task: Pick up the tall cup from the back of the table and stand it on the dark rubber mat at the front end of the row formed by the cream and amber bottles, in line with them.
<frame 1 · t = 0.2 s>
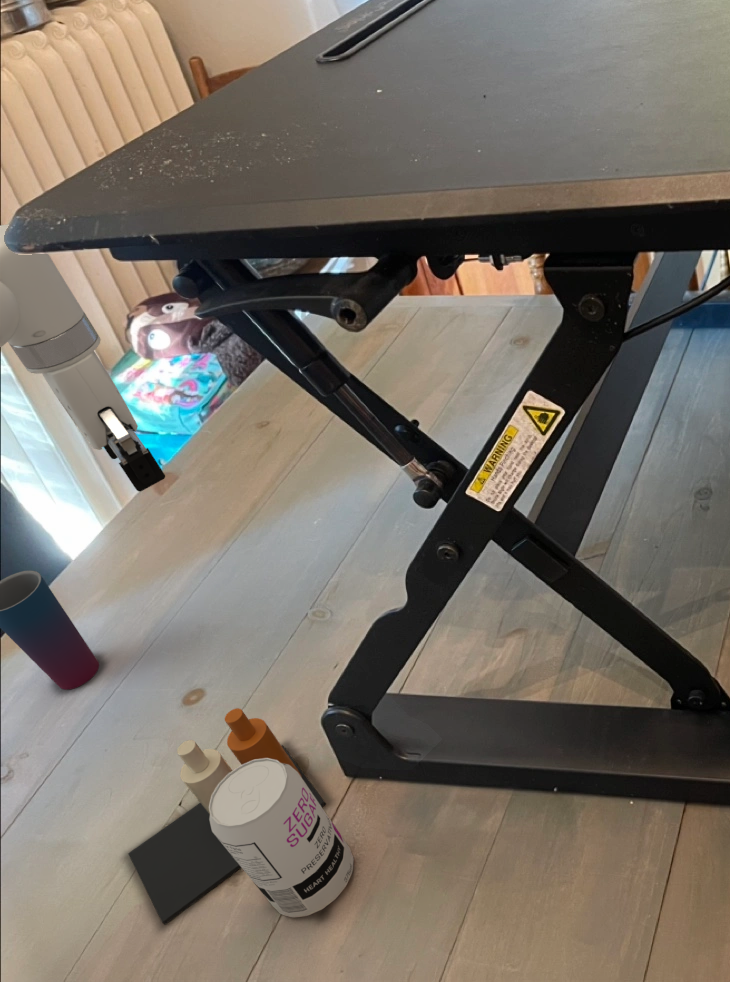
hand: (138, 467, 121), 26 cm above the table, tool pointing down, fingers open, 9 cm apart
amber bottle: (283, 786, 113), resting on mat
supplement can: (315, 881, 104), on the table
cream bottle: (240, 817, 111), resting on mat
mat: (228, 830, 111), on the table
cup: (79, 675, 134), on the table
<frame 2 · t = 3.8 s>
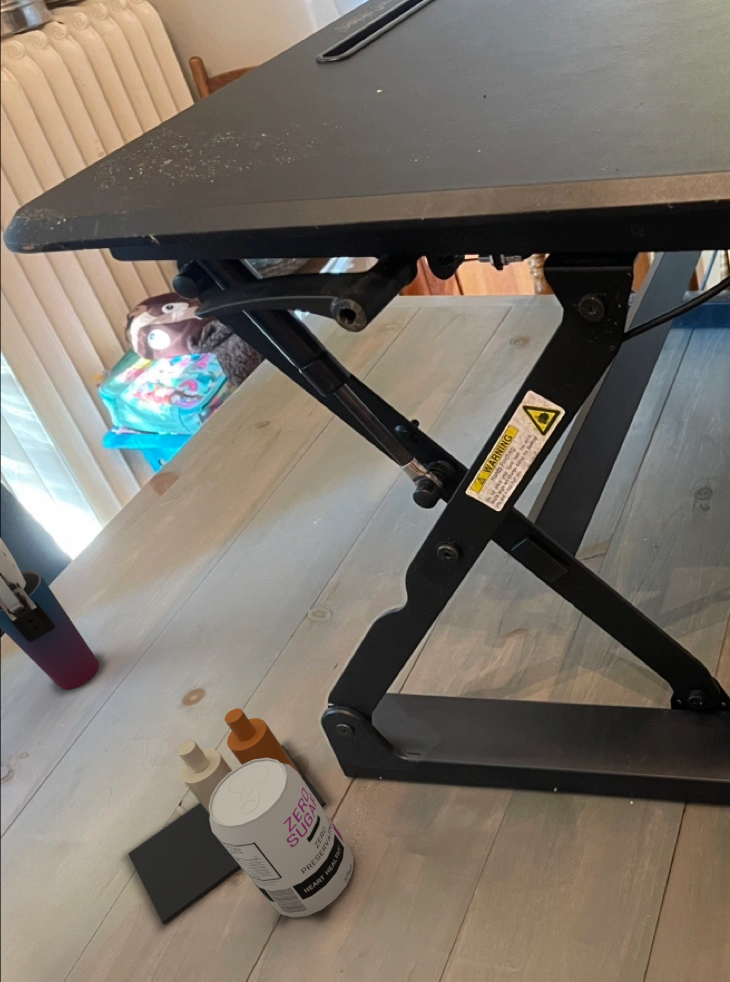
hand: (34, 619, 128), 10 cm above the table, tool pointing down, fingers closed on cup, 6 cm apart
cup: (79, 674, 134), on the table, touching gripper
everything else where it was.
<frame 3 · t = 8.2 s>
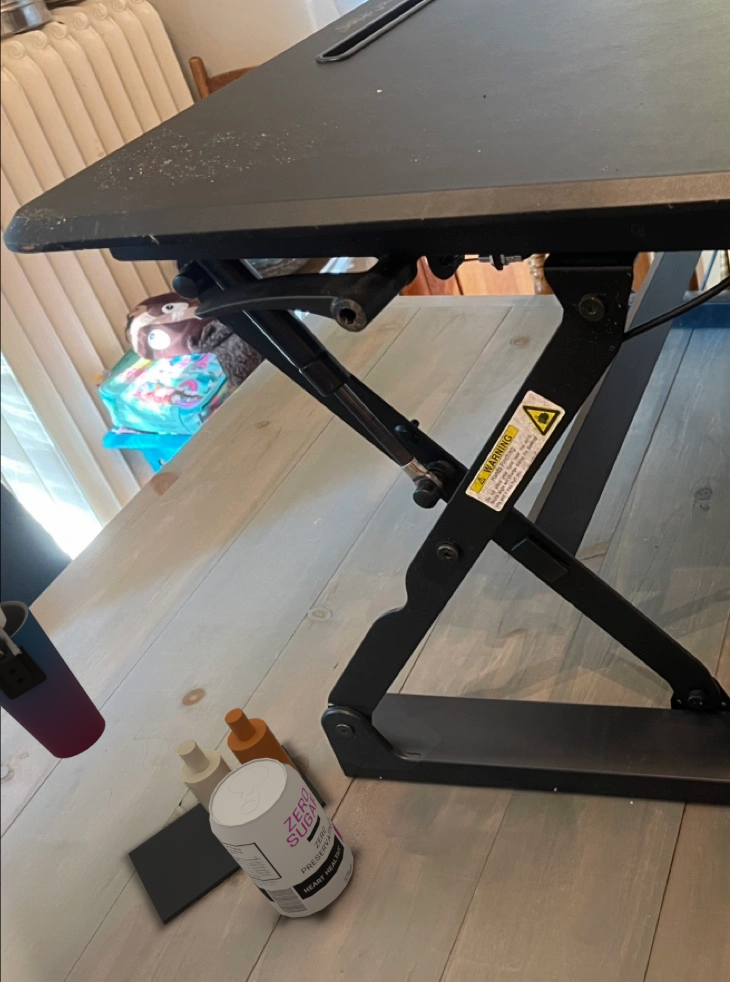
hand: (18, 667, 95), 27 cm above the table, tool pointing down, fingers closed on cup, 6 cm apart
cup: (79, 737, 101), point 17 cm above the table, touching gripper
everything else where it was.
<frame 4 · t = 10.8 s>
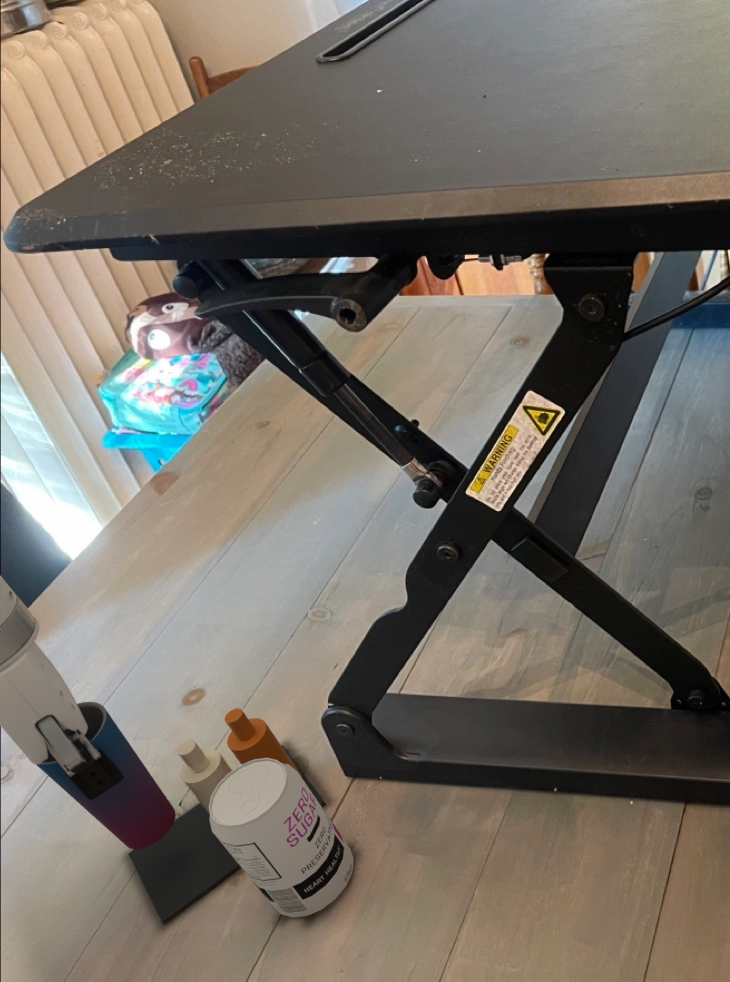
hand: (95, 766, 98), 17 cm above the table, tool pointing down, fingers closed on cup, 6 cm apart
cup: (151, 827, 104), point 7 cm above the table, touching gripper
everything else where it was.
when the fingers open (10 cm above the table, at t = 12.8 s): cup stays where it is, resting on mat.
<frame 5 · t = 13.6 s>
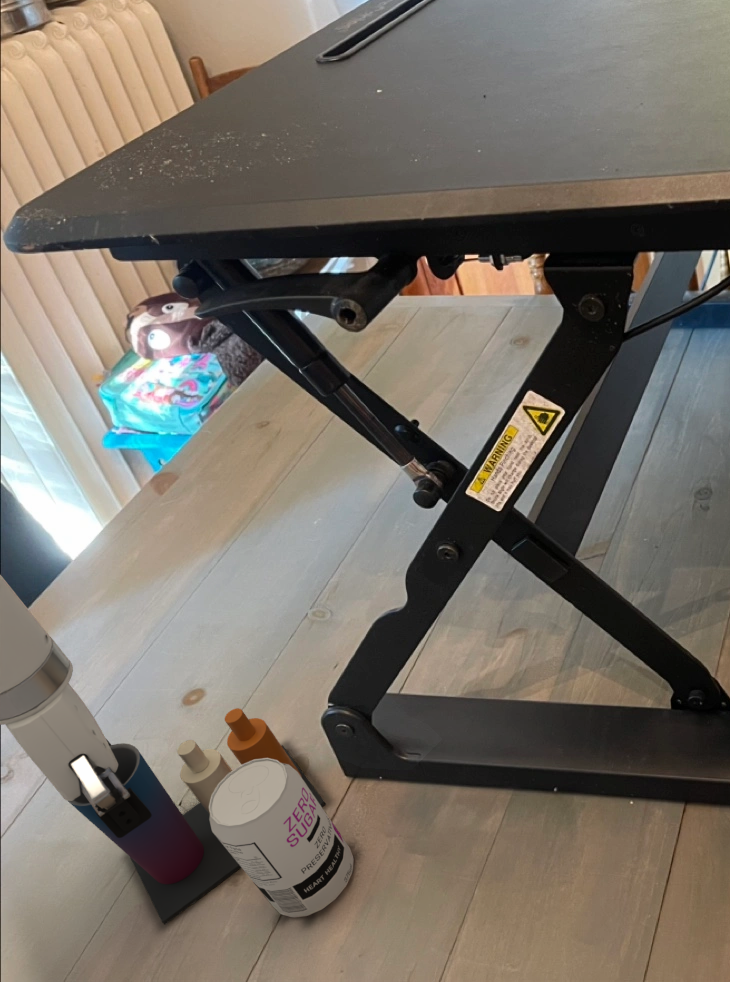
hand: (119, 795, 101), 12 cm above the table, tool pointing down, fingers open, 9 cm apart
cup: (180, 862, 108), resting on mat
everything else where it was.
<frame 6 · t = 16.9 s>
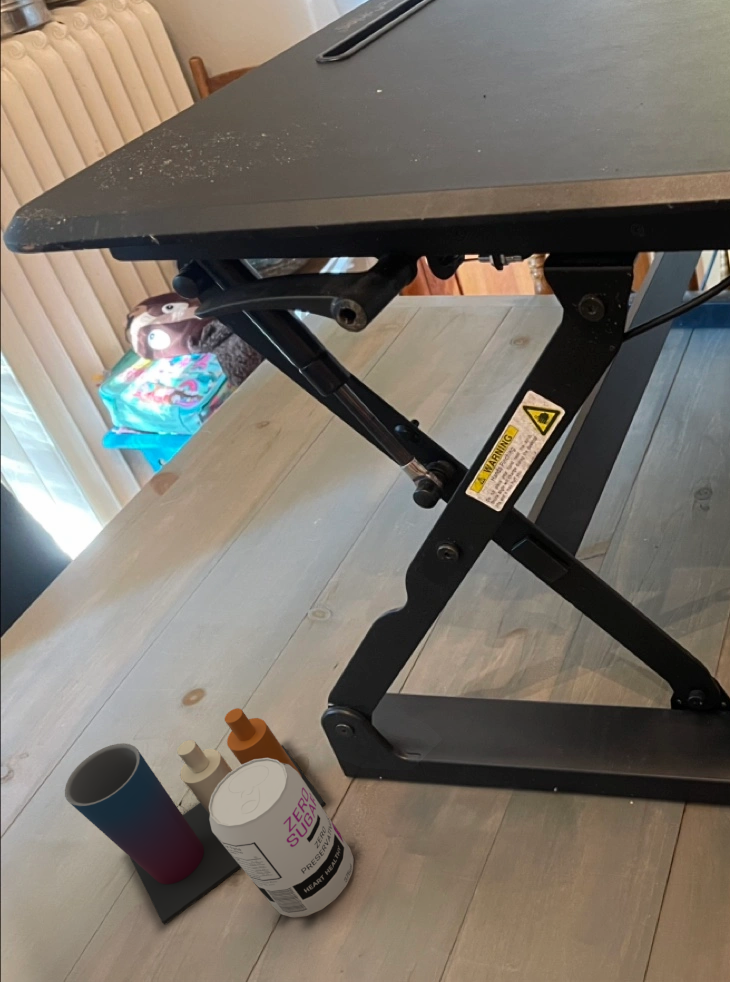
nothing on the table moved.
at the end: cup 0.2 cm from the target spot on the mat, point 0.3 cm above the mat's base; cup tilted 0°; cream bottle moved 0.0 cm from its start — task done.
